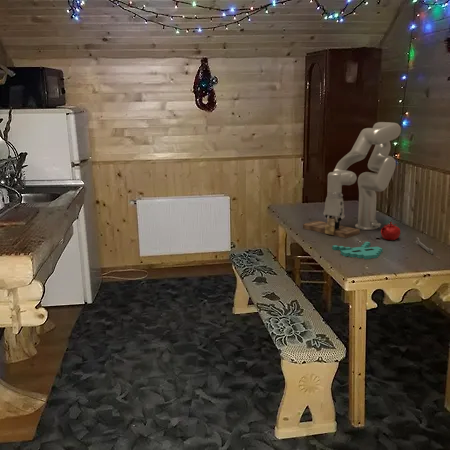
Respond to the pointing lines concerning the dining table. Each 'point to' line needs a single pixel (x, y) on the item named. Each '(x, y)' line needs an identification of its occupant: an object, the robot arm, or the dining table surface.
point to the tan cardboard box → (330, 226)
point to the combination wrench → (423, 246)
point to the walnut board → (341, 232)
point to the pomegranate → (390, 232)
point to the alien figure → (360, 251)
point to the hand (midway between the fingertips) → (333, 227)
